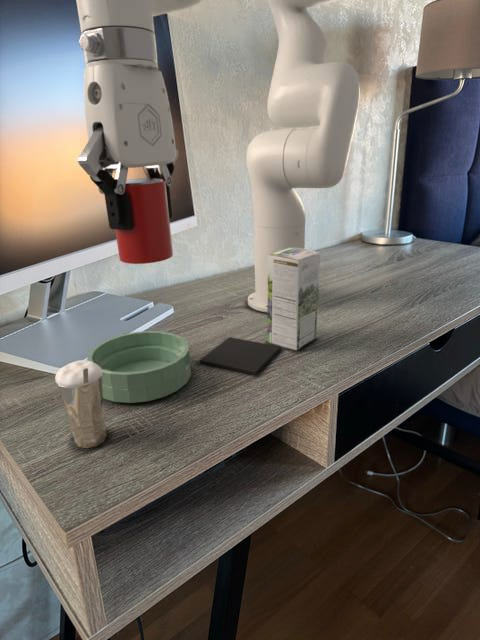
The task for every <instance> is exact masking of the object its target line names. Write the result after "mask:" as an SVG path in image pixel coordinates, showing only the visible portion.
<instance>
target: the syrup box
mask: <svg viewBox="0 0 480 640" xmlns="http://www.w3.org/2000/svg"><path fill="white" fill-rule="evenodd" d="M320 262H321V253H320V252H319V251H315V250H311V249H307V248H305V249H302V248H287V249H284V250H281V251H278V252H275V253H273V254H270V255H268V313H267V329H266V330H267V334H266V335H267V339H266V340H267V342H268V344H271V345H275V346H280V347H281V348H286V349H289V350H293V351H300V349H302V348H303V347H305V346H306V345H308V344H309V343H311V342H313V341H314V340H316V338H317V325H318V324H317V323H318V321H317V320H318V305H319V304H318V302H319V300H318V299H319V282H320Z"/></svg>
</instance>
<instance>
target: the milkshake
mask: <svg viewBox="0 0 480 640" xmlns="http://www.w3.org/2000/svg"><path fill="white" fill-rule="evenodd" d="M54 378H55V383H56V386H57V389H58V392H59V395H60V398H61V400H62V403H63V406H64V410H65V411H66V412H65V414H66V417H67V420H68V422H69V423H68V424H69V426H70V429H71V433H72V437H73V439H74V442H75V443H76V445H77V447H79V448H83V449H90V448H94V447H95V448H96V447H98V446H99V445H101V444H102V443H104V442H105V441H106V438H107V434H108V433H107V423H106V413H105V401H104V400H105V399H103V383H102V370H101V368H100V367H99V366H98V365H97V364H95V363H94V362H91V361H87V360H84V359H82V360H80V359H79V360H76V361H72V362H69V363H67V364H66V365H64V366H62V367H60V368H59V369H58V371H57V372H56V374H55V376H54Z"/></svg>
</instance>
